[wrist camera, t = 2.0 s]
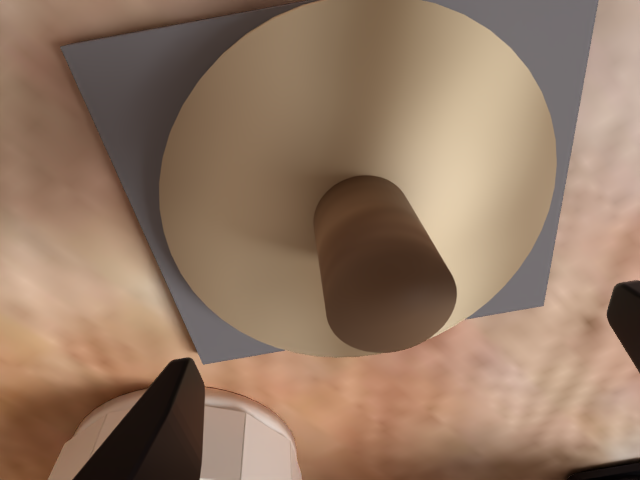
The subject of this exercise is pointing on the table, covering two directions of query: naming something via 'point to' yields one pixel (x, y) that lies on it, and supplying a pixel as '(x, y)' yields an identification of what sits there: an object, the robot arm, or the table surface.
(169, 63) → the mat
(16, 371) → the table surface
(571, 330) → the table surface
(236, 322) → the lid
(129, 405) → the bowl
